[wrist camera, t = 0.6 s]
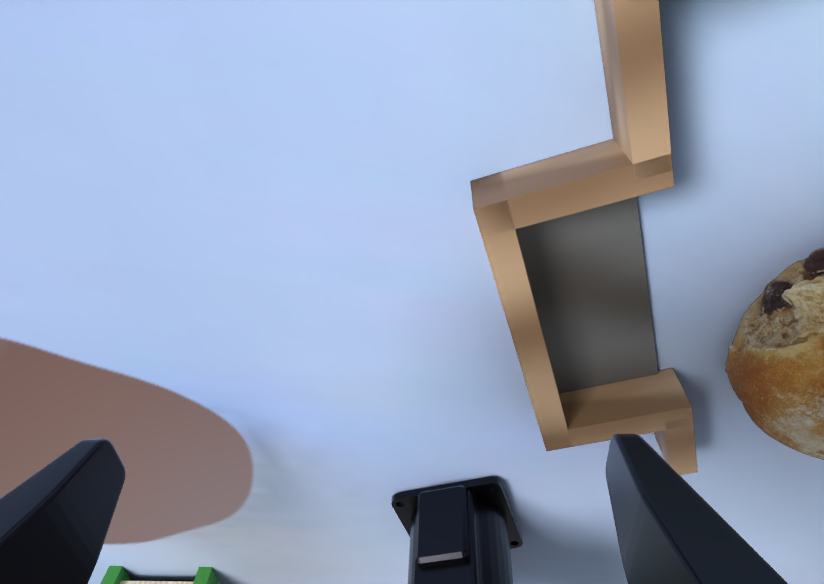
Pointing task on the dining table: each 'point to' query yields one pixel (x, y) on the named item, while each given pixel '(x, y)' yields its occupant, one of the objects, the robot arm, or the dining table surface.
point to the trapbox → (592, 259)
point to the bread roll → (785, 357)
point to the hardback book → (118, 580)
